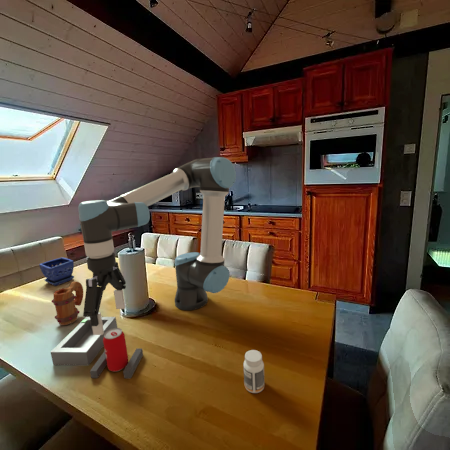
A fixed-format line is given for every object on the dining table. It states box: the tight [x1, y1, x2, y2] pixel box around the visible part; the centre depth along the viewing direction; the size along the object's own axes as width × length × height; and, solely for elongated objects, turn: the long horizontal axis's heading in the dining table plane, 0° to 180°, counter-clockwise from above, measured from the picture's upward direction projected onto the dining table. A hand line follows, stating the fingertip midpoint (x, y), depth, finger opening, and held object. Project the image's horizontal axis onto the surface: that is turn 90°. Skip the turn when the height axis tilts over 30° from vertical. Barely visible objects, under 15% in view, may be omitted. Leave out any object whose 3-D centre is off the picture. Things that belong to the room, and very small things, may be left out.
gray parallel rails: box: [89, 347, 144, 379], centre depth 84 cm, size 12×10×2 cm
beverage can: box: [103, 327, 129, 372], centre depth 82 cm, size 6×6×12 cm
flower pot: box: [39, 257, 75, 287], centre depth 151 cm, size 13×13×12 cm
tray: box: [50, 316, 118, 367], centre depth 94 cm, size 12×20×5 cm, turn 176°
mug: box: [50, 281, 84, 326], centre depth 111 cm, size 15×8×15 cm, turn 168°
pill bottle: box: [242, 349, 265, 394], centre depth 73 cm, size 6×6×10 cm
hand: (110, 320), depth 80 cm, fingers open, 13 cm apart
